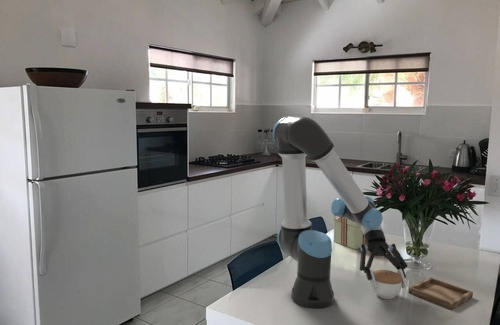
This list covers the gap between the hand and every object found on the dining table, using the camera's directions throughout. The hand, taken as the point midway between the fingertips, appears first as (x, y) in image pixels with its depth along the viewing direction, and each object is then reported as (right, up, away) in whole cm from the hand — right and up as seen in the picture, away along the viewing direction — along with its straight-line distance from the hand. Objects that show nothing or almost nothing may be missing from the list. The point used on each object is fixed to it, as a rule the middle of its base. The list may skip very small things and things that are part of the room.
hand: (389, 288), depth 144 cm
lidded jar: (0, -4, +3) cm, 5 cm away
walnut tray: (+20, -4, +4) cm, 21 cm away
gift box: (+2, +3, +61) cm, 61 cm away
